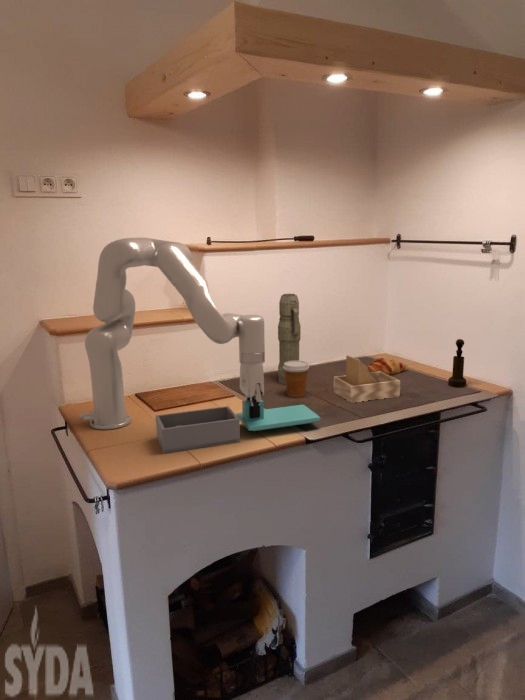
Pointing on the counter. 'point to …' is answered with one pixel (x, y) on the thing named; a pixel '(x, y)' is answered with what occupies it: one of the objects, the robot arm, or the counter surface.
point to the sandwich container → (358, 373)
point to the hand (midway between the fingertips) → (253, 415)
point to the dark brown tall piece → (458, 367)
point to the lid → (276, 416)
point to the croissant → (386, 366)
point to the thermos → (288, 332)
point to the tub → (197, 429)
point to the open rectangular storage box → (368, 388)
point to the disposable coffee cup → (296, 377)
